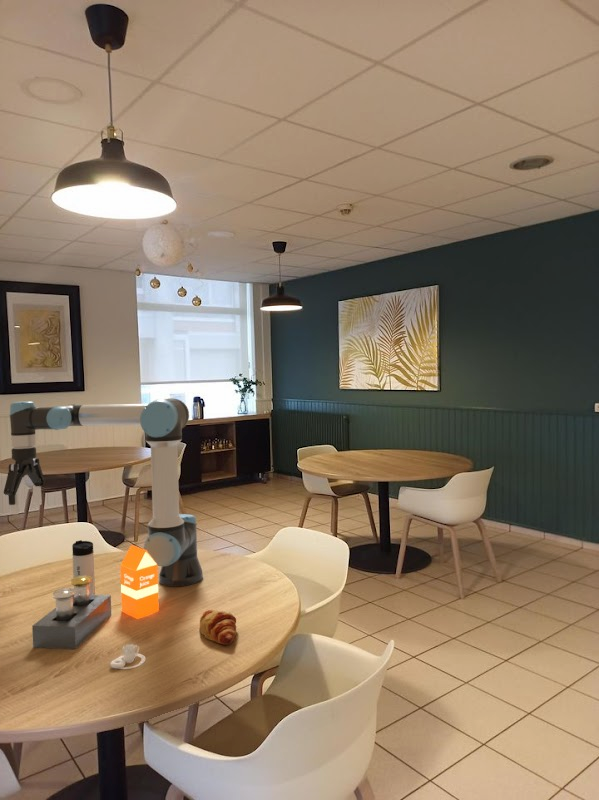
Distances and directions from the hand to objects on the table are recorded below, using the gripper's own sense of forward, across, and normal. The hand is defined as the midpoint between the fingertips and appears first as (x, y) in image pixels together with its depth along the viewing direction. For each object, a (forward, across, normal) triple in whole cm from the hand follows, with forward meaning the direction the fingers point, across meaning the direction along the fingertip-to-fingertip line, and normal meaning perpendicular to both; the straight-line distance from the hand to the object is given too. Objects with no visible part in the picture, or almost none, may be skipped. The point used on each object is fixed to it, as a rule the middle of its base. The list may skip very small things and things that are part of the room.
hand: (26, 509), depth 194 cm
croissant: (+28, +27, +73) cm, 83 cm away
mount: (+28, +28, +31) cm, 51 cm away
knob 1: (+23, +34, +31) cm, 51 cm away
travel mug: (+28, +10, +25) cm, 39 cm away
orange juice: (+28, +14, +45) cm, 55 cm away
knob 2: (+23, +24, +31) cm, 45 cm away
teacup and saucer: (+29, +44, +51) cm, 74 cm away
